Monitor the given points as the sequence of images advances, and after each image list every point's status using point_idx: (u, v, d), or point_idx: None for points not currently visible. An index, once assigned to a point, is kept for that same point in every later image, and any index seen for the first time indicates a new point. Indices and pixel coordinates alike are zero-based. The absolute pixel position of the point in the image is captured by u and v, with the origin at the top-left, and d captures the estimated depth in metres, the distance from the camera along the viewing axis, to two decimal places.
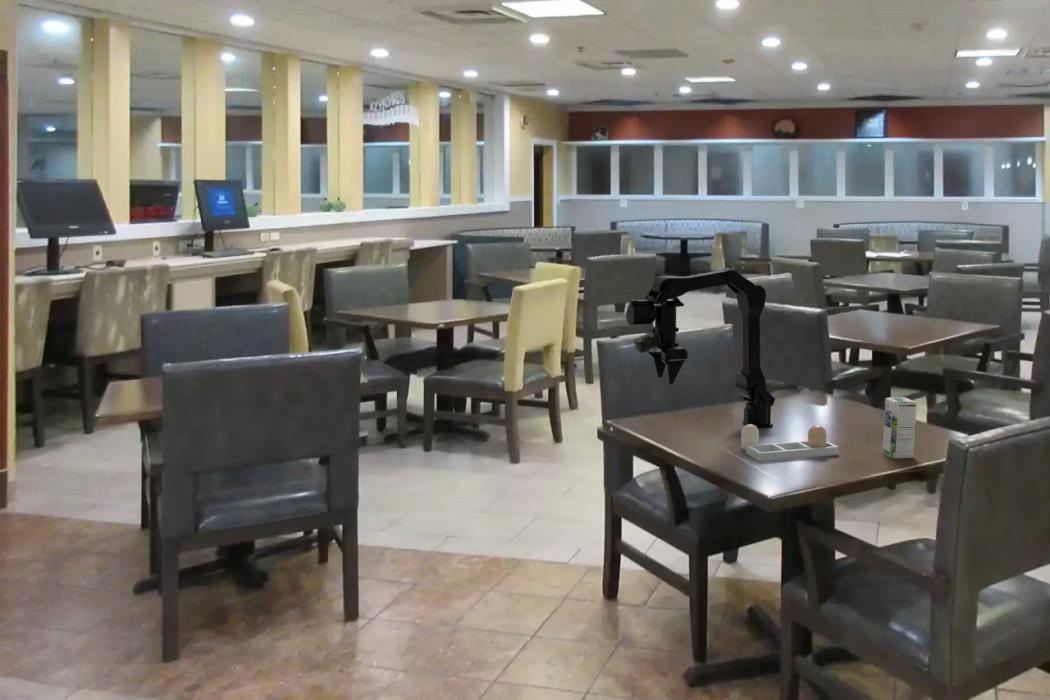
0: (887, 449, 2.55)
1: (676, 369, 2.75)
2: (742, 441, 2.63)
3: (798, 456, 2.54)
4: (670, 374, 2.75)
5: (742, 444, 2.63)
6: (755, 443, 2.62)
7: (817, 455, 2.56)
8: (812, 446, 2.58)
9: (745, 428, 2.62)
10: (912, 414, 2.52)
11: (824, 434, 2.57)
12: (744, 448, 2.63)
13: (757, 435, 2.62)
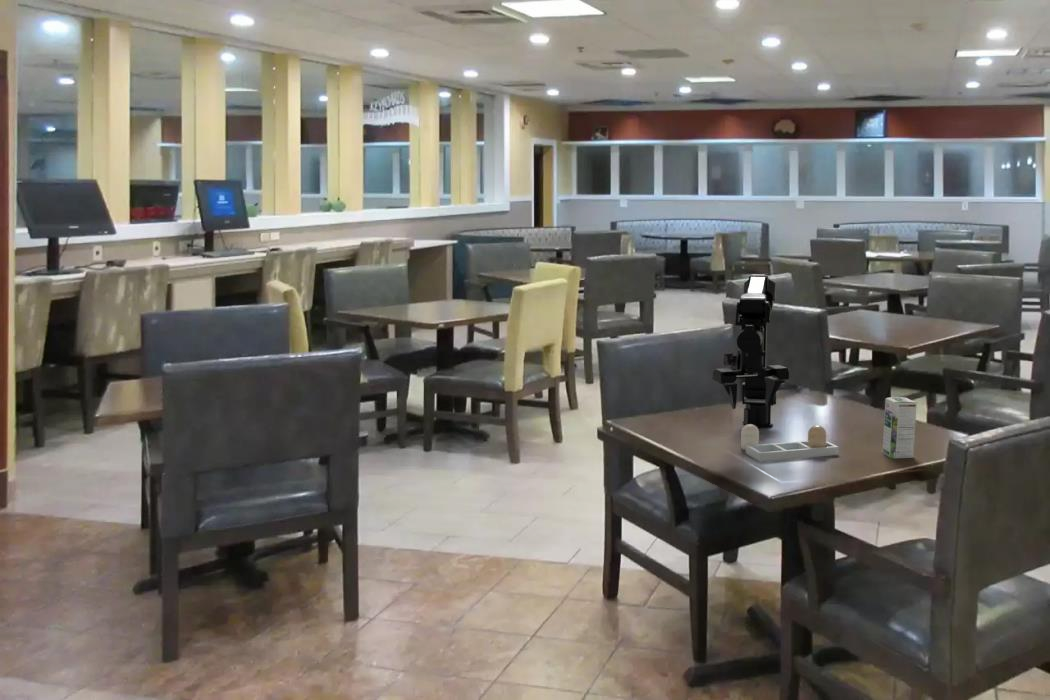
0: (887, 449, 2.55)
1: (731, 394, 2.59)
2: (742, 441, 2.63)
3: (798, 456, 2.54)
4: (729, 397, 2.61)
5: (742, 444, 2.63)
6: (755, 443, 2.62)
7: (817, 455, 2.56)
8: (812, 446, 2.58)
9: (745, 428, 2.62)
10: (912, 414, 2.52)
11: (824, 434, 2.57)
12: (744, 448, 2.63)
13: (757, 435, 2.62)
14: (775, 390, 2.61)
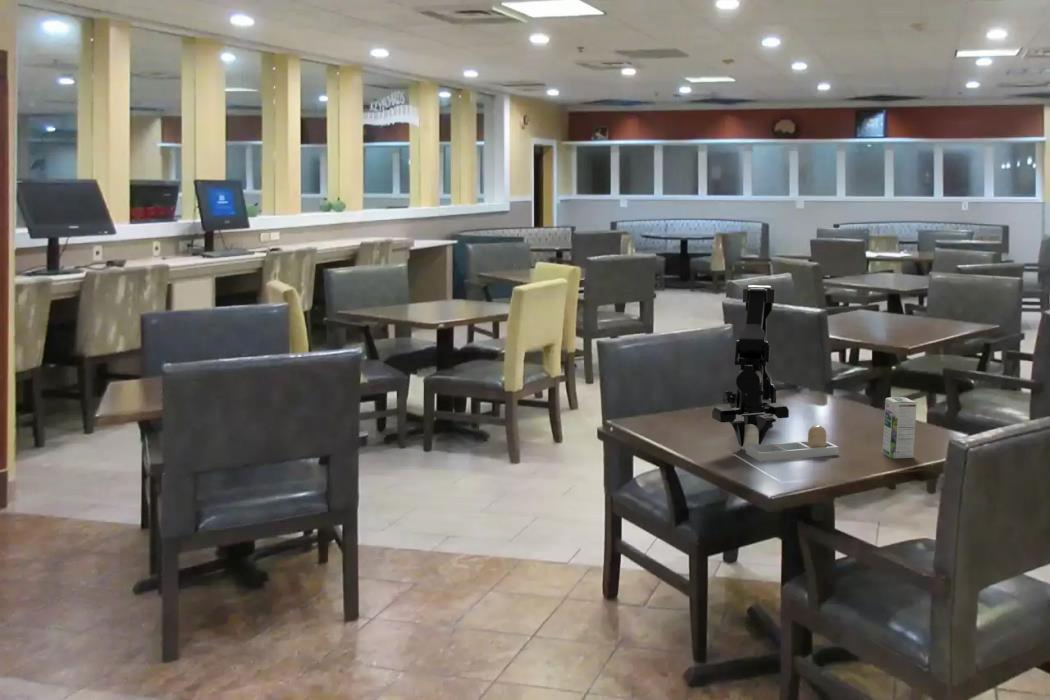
0: (887, 449, 2.55)
1: (738, 431, 2.62)
2: None
3: (798, 456, 2.54)
4: (737, 435, 2.63)
5: None
6: (755, 443, 2.62)
7: (817, 455, 2.56)
8: (812, 446, 2.58)
9: (745, 428, 2.62)
10: (912, 414, 2.52)
11: (824, 434, 2.57)
12: (744, 448, 2.63)
13: (757, 435, 2.62)
14: (766, 429, 2.62)
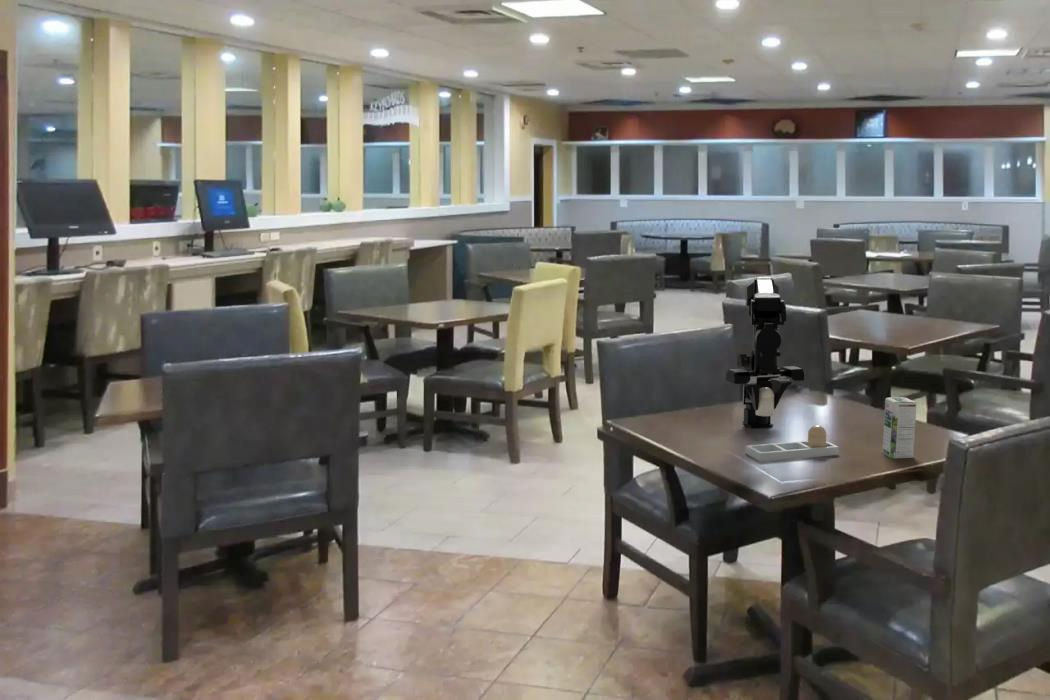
0: (887, 449, 2.55)
1: (753, 394, 2.53)
2: None
3: (798, 456, 2.54)
4: (751, 398, 2.55)
5: None
6: (770, 406, 2.53)
7: (817, 455, 2.56)
8: (812, 446, 2.58)
9: (760, 391, 2.54)
10: (912, 414, 2.52)
11: (824, 434, 2.57)
12: (759, 412, 2.54)
13: (772, 398, 2.54)
14: (782, 392, 2.54)
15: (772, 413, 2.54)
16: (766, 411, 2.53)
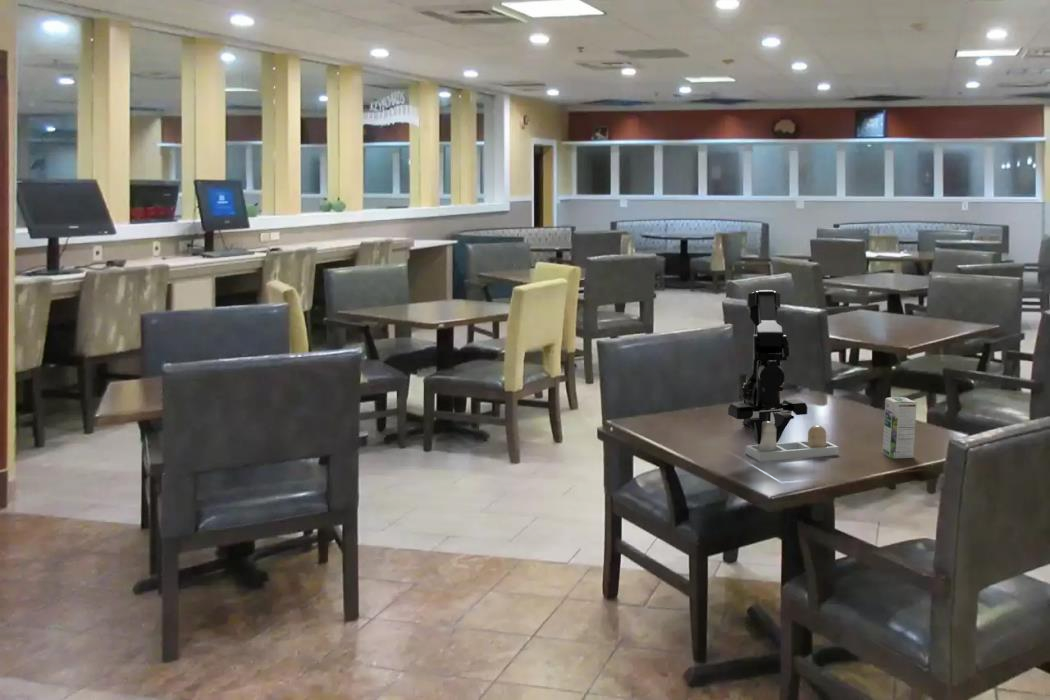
0: (887, 449, 2.55)
1: (755, 429, 2.54)
2: None
3: (798, 456, 2.54)
4: (753, 432, 2.55)
5: None
6: (773, 440, 2.54)
7: (817, 455, 2.56)
8: (812, 446, 2.58)
9: (762, 425, 2.54)
10: (912, 414, 2.52)
11: (824, 434, 2.57)
12: (761, 446, 2.55)
13: (775, 432, 2.54)
14: (784, 426, 2.54)
15: (774, 447, 2.55)
16: (768, 445, 2.54)
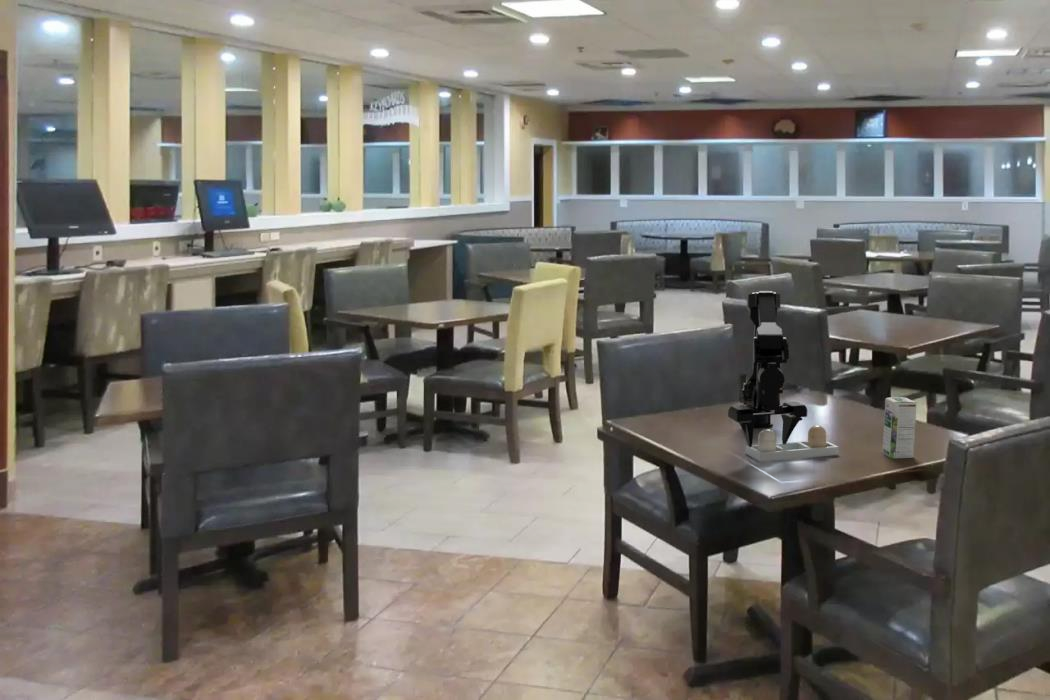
0: (887, 449, 2.55)
1: (747, 432, 2.53)
2: (759, 446, 2.56)
3: (798, 456, 2.54)
4: (745, 435, 2.55)
5: (759, 450, 2.56)
6: (772, 449, 2.54)
7: (817, 455, 2.56)
8: (812, 446, 2.58)
9: (762, 434, 2.55)
10: (912, 414, 2.52)
11: (824, 434, 2.57)
12: None
13: (774, 440, 2.54)
14: (792, 428, 2.55)
15: None
16: None
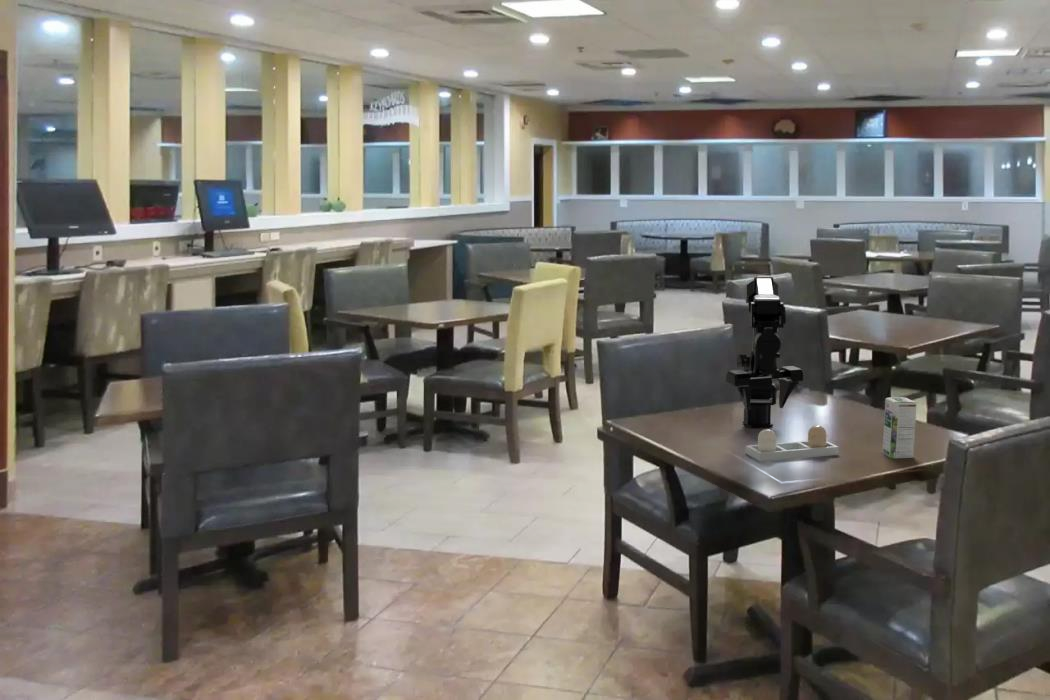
0: (887, 449, 2.55)
1: (744, 396, 2.57)
2: (759, 446, 2.56)
3: (798, 456, 2.54)
4: (743, 399, 2.58)
5: (759, 450, 2.56)
6: (772, 449, 2.54)
7: (817, 455, 2.56)
8: (812, 446, 2.58)
9: (762, 434, 2.55)
10: (912, 414, 2.52)
11: (824, 434, 2.57)
12: None
13: (774, 440, 2.54)
14: (789, 392, 2.58)
15: None
16: None
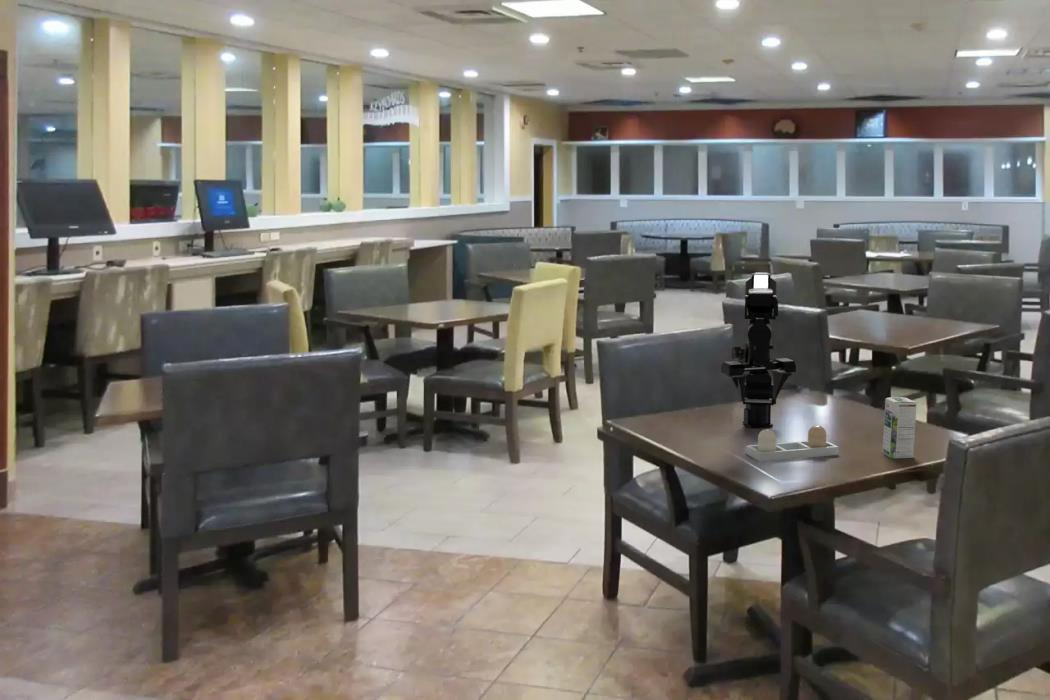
0: (887, 449, 2.55)
1: (739, 386, 2.64)
2: (759, 446, 2.56)
3: (798, 456, 2.54)
4: (737, 390, 2.66)
5: (759, 450, 2.56)
6: (772, 449, 2.54)
7: (817, 455, 2.56)
8: (812, 446, 2.58)
9: (762, 434, 2.55)
10: (912, 414, 2.52)
11: (824, 434, 2.57)
12: None
13: (774, 440, 2.54)
14: (782, 383, 2.66)
15: None
16: None
